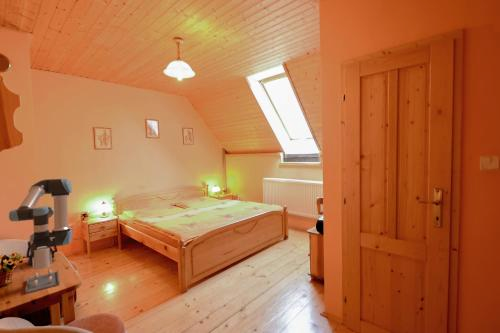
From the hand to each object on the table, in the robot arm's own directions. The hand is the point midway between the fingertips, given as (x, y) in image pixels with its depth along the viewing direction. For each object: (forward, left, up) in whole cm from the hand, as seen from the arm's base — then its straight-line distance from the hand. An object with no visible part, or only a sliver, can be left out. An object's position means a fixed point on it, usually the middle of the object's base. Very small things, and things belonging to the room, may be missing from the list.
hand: (42, 265), depth 159 cm
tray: (0, 0, -11) cm, 11 cm away
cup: (0, 0, -1) cm, 1 cm away
